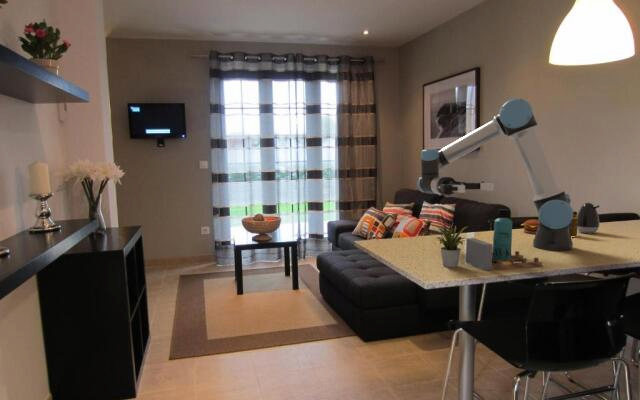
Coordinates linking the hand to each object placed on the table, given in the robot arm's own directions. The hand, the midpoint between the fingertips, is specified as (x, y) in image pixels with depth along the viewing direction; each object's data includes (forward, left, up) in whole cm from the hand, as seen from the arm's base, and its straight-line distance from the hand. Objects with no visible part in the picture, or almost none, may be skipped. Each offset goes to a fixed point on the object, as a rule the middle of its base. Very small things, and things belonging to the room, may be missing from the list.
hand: (478, 188), depth 169 cm
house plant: (+16, +6, -27) cm, 32 cm away
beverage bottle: (-5, +9, -27) cm, 29 cm away
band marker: (-2, +10, -26) cm, 28 cm away
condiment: (-67, -31, -28) cm, 79 cm away
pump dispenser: (-82, -36, -27) cm, 94 cm away
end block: (+5, +10, -27) cm, 29 cm away
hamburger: (-57, -43, -28) cm, 77 cm away
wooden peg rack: (-6, +10, -27) cm, 30 cm away
